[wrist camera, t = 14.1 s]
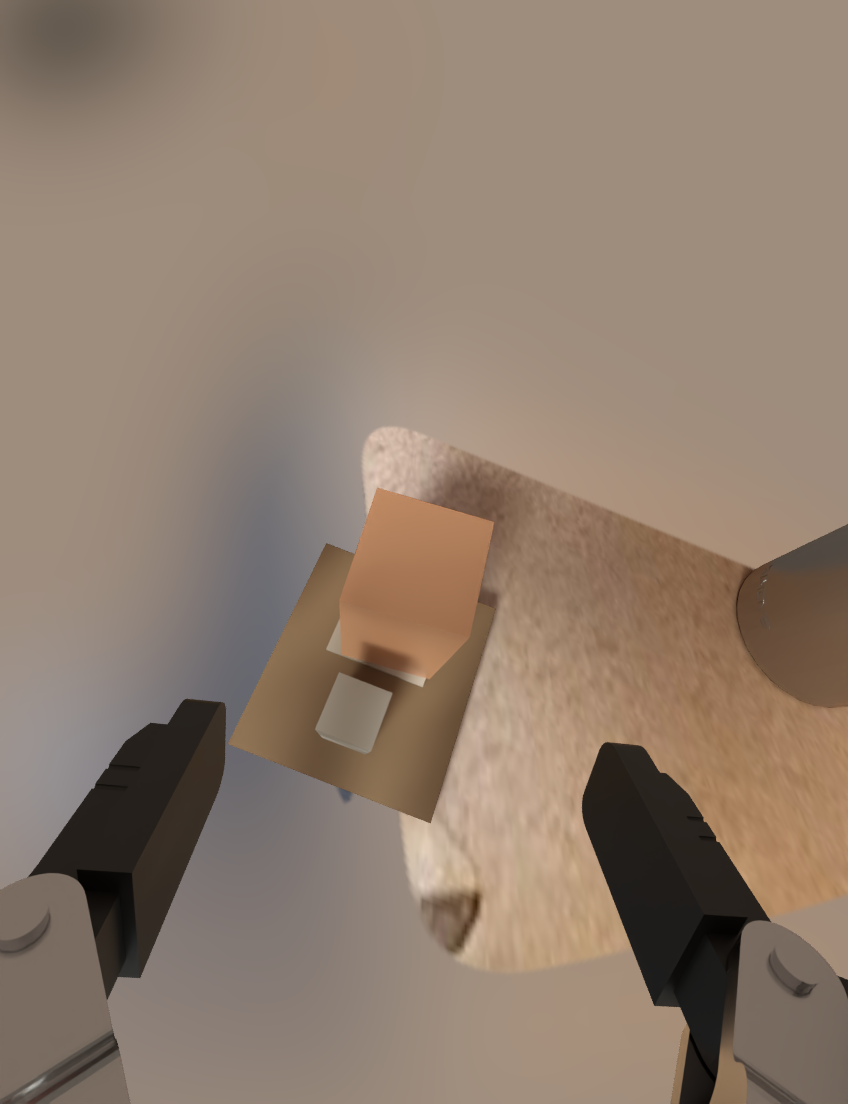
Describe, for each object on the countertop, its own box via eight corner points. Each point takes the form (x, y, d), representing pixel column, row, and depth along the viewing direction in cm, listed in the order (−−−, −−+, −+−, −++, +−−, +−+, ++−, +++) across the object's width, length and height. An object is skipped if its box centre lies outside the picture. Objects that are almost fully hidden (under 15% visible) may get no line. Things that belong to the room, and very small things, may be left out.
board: (490, 614, 29) (532, 569, 22) (426, 820, 24) (456, 841, 18) (327, 551, 29) (321, 488, 22) (233, 745, 24) (191, 736, 18)
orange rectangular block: (449, 595, 27) (494, 522, 19) (429, 679, 25) (469, 637, 17) (367, 572, 27) (377, 487, 19) (341, 654, 25) (339, 600, 17)
